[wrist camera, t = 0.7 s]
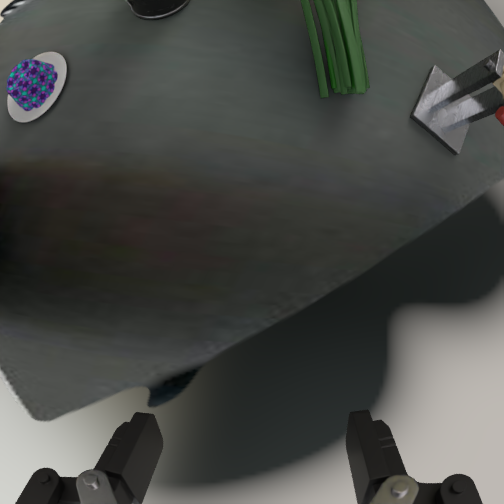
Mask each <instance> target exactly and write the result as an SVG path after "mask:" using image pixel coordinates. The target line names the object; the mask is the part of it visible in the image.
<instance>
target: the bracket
mask: <svg viewBox="0 0 504 504" xmlns="http://www.w3.org/2000/svg"><path fill="white" fill-rule="evenodd" d="M503 67H504V53H503V52H502V51H501V50H498V51H497V52H495V53H493V54H492V55H490V56H488V57H487V58H485V59H484V60H482V61H480V62H479V63H477V64H476V65H474V66H472V67H471V68H469V69H467V70H466V71H464V72H463V73H461V74H460V75H458V76H456V77H455V78H453V79H451V78H450V77H448V76H447V75H446V74H445V73H444V72H443V71H441V70H440V69H439V68H438V67H437V66H433V67H432V68H431V70H430V72H429V75H428V77H427V79H426V82H425V84H424V86H423V89H422V91H421V93H420V95H419V97H418V100H417V102H416V104H415V106H414V108H413V111H412V113H411V115H410V118H411V119H413V120H414V121H415V122H416V123H418V124H419V125H420V126H421V127H423V128H424V129H425V130H426V131H427V132H429V133H430V134H431V135H432V136H433V137H435V138H436V139H437V140H438V141H439V142H440V143H441V144H443V145H444V146H445V147H446V148H447V149H448V150H449V151H450V152H451V153H453V154H454V155H458V154H459V153H460V150H461V148H462V145H463V142H464V139H465V136H466V134H467V131H468V128H469V125H470V123H472V122H474V121H477V120H479V119H482V118H484V117H487V116H489V115H492V114H495V113H496V111H497V110H498V109H499V108H500V107H502V106H504V98H503V94H502V93H501V92H500V91H499V90H498V89H497V88H496V87H492V88H490V89H488V90H486V91H484V92H482V93H480V94H478V95H476V96H474V97H471V96H469V95H468V94H470V93H472V92H474V91H476V90H478V89H480V88H482V87H484V86H486V85H487V84H489V83H491V82H493V81H495V80H497V79H499V78H501V77H502V72H503Z"/></svg>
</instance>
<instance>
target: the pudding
mask: <svg viewBox="0 0 504 504" xmlns="http://www.w3.org/2000/svg"><path fill="white" fill-rule="evenodd" d="M66 73H67V67H66V62H65V59H64V58H63V57H62V56H61V55H60V54H59V53H56V52H45V53H42V54H40V55H38V56H36V57H34V58H33V59H30V60H29V59H26V60H23V61H21V62H20V63H19V65H16V66H15V67H14V68H13V70H12V72H11V74H10V75H9V77H8V79H7V87H6V88H7V92H8V101H7V104H8V111H9V114H10V116H11V117H12V118H13V119H14V120H16V121H18V122H29V121H32V120H34V119H36V118H38V117H39V116H41V115H42V114H43V113H44V112H46V111H47V110H48V109H49V107H50V106H51V105H52V104H53V103H54V101H55V100H56V99H57V97H58V95H59V94H60V92H61V90H62V88H63V85H64V82H65V79H66Z"/></svg>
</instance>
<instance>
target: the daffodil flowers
mask: <svg viewBox="0 0 504 504" xmlns="http://www.w3.org/2000/svg"><path fill="white" fill-rule="evenodd" d="M314 3H315V7H316V10H317V14H318V18H319V21H320V25H321V29H322V34H323V40H324V45H325V51H326V57H327V63H328V69H329V75H330V82H331V89H333V90H334V93H338V92H341V95H342V94H354V93H356V94H364V92H365V91H366V88H370V85H369V79H368V73H367V67H366V61H365V56H364V51H363V46H362V41H361V37H360V32H359V23H358V13H357V0H314ZM301 4H302V8H303V12H304V16H305V20H306V24H307V29H308V33H309V37H310V42H311V46H312V51H313V55H314V61H315V66H316V72H317V78H318V84H319V90H320V96H321V98H325V97H329V94H328V87H327V81H326V75H325V70H324V64H323V58H322V53H321V49H320V44H319V40H318V35H317V31H316V27H315V23H314V19H313V14H312V10H311V6H310V3H309V0H301ZM330 30H331V31H330ZM331 34H332V35H331ZM332 38H333V40H332ZM333 41H334V44H333ZM334 45H335V49H334ZM335 51H336V54H335Z"/></svg>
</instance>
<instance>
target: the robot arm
mask: <svg viewBox="0 0 504 504" xmlns="http://www.w3.org/2000/svg"><path fill="white" fill-rule="evenodd" d="M125 1H126V2H127V3H128V4H129V5H130V8H131V10H132V12H133V13H134V14H135V15H136V16H137V17H139V18H142V19H146V20H156V19H162V18H166V17H168V16H171V15H173V14H175V13H177V12H179V11H180V10H181V9H183V8H184V7H185V6H186V5H187V4H188V3H189V1H190V0H125ZM162 449H163V438H162V435H161V432H160V429H159V427H158V424H157V421H156V418H155V416H154V414H149V413H140V412H136V413H135V414H134V415H133V417H132V419H131V421H130V422H124V423H123V424H122V425H121V426H119V427H118V428H117V429H116V431H115V432H114V434H113V436H112V439H110V441H109V443H108V445H107V446H106V448H105V450H104V452H103V454H102V455H101V457H100V459H99V461H98V463H97V464H96V466H95V468H94V469H91V470H86V471H84V472H82V473H81V474H80V475H79V476H78V477H60V476H59V475H58V474H57V472H56V471H55V470H53V469H50V468H42V469H39V470H37V471H36V472H35V473H34V474H33V475H32V477H31V478H30V480H29V482H28V483H27V485H26V486H25V488H24V490H23V491H22V493H21V495H20V497H19V498H18V500H17V502H16V503H15V504H142V502H143V499H144V496H145V494H146V491H147V489H148V486H149V484H150V481H151V478H152V475H153V473H154V470H155V468H156V465H157V463H158V460H159V457H160V455H161V452H162ZM346 450H347V454H348V459H349V464H350V468H351V473H352V478H353V483H354V488H355V493H356V498H357V503H358V504H482V501H481V498H480V496H479V493H478V491H477V489H476V486H475V484H474V482H473V480H472V479H471V478H470V477H468V476H466V475H463V474H454V475H451V476H449V477H447V478H446V479H445V480H444V481H443V483H428V484H427V483H419V482H417V481H415V479H413V478H412V477H410V476H408V474H407V472H406V470H405V467H404V464H403V462H402V459H401V456H400V454H399V451H398V448H397V446H396V443H395V441H394V439H393V435H392V433H391V430H390V428H389V426H388V425H386V424H385V423H384V422H383V421H382V420H376V421H372V418H371V415H370V412H369V410H362V411H355V412H350V414H349V420H348V427H347V434H346Z"/></svg>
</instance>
